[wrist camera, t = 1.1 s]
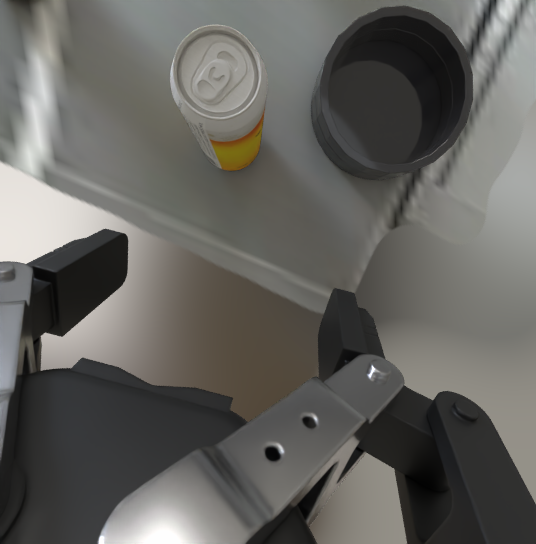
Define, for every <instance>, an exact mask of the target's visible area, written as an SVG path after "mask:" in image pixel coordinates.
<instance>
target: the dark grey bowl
mask: <svg viewBox="0 0 536 544" xmlns="http://www.w3.org/2000/svg"><path fill="white" fill-rule="evenodd" d="M472 101H473V74H472V69H471V66H470V63H469V60H468V57H467V54H466V50H465V49H464V46H463V45H462V43H461V42H460V41H459V39H458V38H457V36H456V35H455V33H454V32H453V31H452V29H451V28H450V27H449V26H448V25H446V24H445V23H443V22H442V21H441V20H439V19H438V18H436V17H435V16H434V15H432V14H431V13H429V12H425V11H422V10H418V9H415V8H412V7H408V6H397V7H383V8H379V9H377V10H375V11H372V12H370V13H368V14H366V15H363V16H361V17H359V18H357V19H356V20H355V21H354V22H353V23H352V24H351V25H350V26H348V27H347V28H346V29H345V30H344V31H343V32H342V33H341V34H340V35H339V36H338V37H337V39H336V41H335V43H334V44H333V46H332V48H331V50H330V51H329V53H328V55H327V57H326V59H325V61H324V63H323V65H322V68H321V70H320V72H319V75H318V77H317V79H316V84H315V87H314V91H313V95H312V103H311V117H312V124H313V128H314V132H315V135H316V138H317V140H318V142H319V144H320V146H321V148H322V149H323V151H324V152H325V154H326V155H327V156H328V158H329V159H330V160H331V161H332V162H333V163H334V164H335V165H337V166H338V167H339V168H341V169H342V170H344V171H345V172H347V173H349V174H351V175H354V176H356V177H359V178H363V179H369V180H385V179H391V178H396V177H399V176H402V175H404V174H407V173H410V172H412V171H415V170H417V169H419V168H422V167H424V166H426V165H428V164H431V163H433V162H435V161H436V160H437V159H438V158H439V157H440V156H442V155H443V154H444V153H445V152H446V151H447V150H448V149H449V148H451V147H452V146H453V144H454V143H455V141H456V140H457V138H458V136H459V135H460V133H461V131H462V130H463V128H464V127H465V125H466V123H467V120H468V116H469V112H470V109H471V105H472Z"/></svg>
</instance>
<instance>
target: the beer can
mask: <svg viewBox="0 0 536 544" xmlns="http://www.w3.org/2000/svg"><path fill="white" fill-rule="evenodd" d="M170 84H171V90H172V94H173V97H174V100H175V102H176V104H177V106H178V108H179V109H180V111H181V113H182V115H183V116H184V118H185V120H186V122H187V124H188V125H189V127H190V129H191V131H192V132H193V134H194V136H195V138H196V139H197V141H198V143H199V145H200V146H201V148H202V150H203V152H204V154H205V155H206V157H207V158H208V160H209V161H210V162H211V163H212V164H214V165H215V166H217V167H218V168H221V169H223V170H228V171H235V170H240V169H243V168H245V167H246V166H248V165H249V164H250V163H252V161H253V160H254V159H255V158H256V156H257V154H258V152H259V148H260V142H261V134H262V127H263V119H264V111H265V103H266V95H267V86H268V81H267V72H266V68H265V65H264V62H263V60H262V58H261V56H260V54H259V53H258V51H257V50H256V49H255V47H254V46H253V45H252V43H251V42H250V41H249V40H248V39H247V38H246V37H245V36H244V35H243V34H241V33H240V32H238V31H237V30H235V29H233V28H230V27H227V26H223V25H207V26H203V27H200V28H198V29H196V30H194V31H192V32H191V33H190V34H188V35H187V36H186V37H185V38H184V39H183V41H182V42H181V43H180V45H179V47H178V49H177V51H176V53H175V56H174V60H173V63H172V67H171V73H170Z"/></svg>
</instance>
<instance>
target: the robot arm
mask: <svg viewBox="0 0 536 544" xmlns="http://www.w3.org/2000/svg"><path fill="white" fill-rule="evenodd" d="M127 269H128V237H127V235H126V234H124V233H120V232H116V231H112V230H108V229H103V230H101V231H99V232H97V233H95V234H93V235H91V236H89V237H87V238H83V239H78V240H74V241H72V242H69V243H68V244H66V245H63V247H60V248H57V249H55V250H54V251H53V252H50V253H47V254H45V255H43V256H41V257H39V258H37V259H35V260H33V261H31V262H29V263H27V264H24V263H19V262H0V544H317V542H316V540H315V538H314V536H313V534H312V532H311V531H310V529H309V527H310V525H311V524H312V523H313V522H314V520H315V519H316V517H317V516H318V515H319V513H320V512H321V510H322V509H323V507H324V506H325V504H326V503H327V501H328V500H329V498H330V497H331V496H332V494H333V493H334V492H335V490H336V489H337V488H338V487H339V486H340V484H341V483H342V482H343V481H344V479H345V478H346V477H347V476H348V474H349V473H350V472H351V471H352V470H353V468H354V467H355V466H356V465H357V464H358V462H359V461H360V460H361V459H362V457H363V456H364V455H365V454H366V452H367V453H368V454H370V455H372V456H373V457H375V458H377V459H379V460H380V461H382V462H384V463H386V464H388V465H389V466H391V467H392V468H394V469H395V475H396V481H397V486H398V493H399V498H400V504H401V510H402V515H403V521H404V527H405V533H406V539H407V544H536V504H535V502H534V500H533V498H532V496H531V495H530V493H529V491H528V489H527V487H526V485H525V483H524V481H523V480H522V478H521V476H520V474H519V472H518V470H517V468H516V466H515V464H514V463H513V461H512V459H511V457H510V455H509V453H508V451H507V449H506V447H505V446H504V444H503V442H502V440H501V438H500V436H499V434H498V432H497V431H496V429H495V427H494V425H493V423H492V421H491V419H490V418H489V417H488V415H487V414H486V413H485V412H484V411H483V410H482V409H481V408H480V407H479V406H478V405H477V404H475V403H474V402H473V401H471V400H469V399H468V398H466V397H464V396H462V395H460V394H457V393H454V392H449V391H443V392H440V393H438V394H437V396H436V397H435V399H434V400H431V399H428V398H427V397H425V396H423V395H421V394H419V393H416V392H414V391H413V390H411V389H409V388H407V387H406V386H404V378H403V375H402V374H401V372H400V371H399V370H398V369H397V367H395V366H394V365H393V364H392V363H390V362H389V361H387V360H386V359H385V356H384V353H383V350H382V346H381V343H380V340H379V337H378V333H377V330H376V326H375V323H374V320H373V318H372V317H371V315H370V314H369V313H368V312H367V311H366V310H365V309H363V308H359V307H358V306H357V302H356V297H355V294H354V293H352V292H348V291H344V290H340V289H337V288H334V289H333V291H332V293H331V296H330V299H329V302H328V304H327V307H326V310H325V313H324V316H323V319H322V322H321V325H320V329H319V334H318V357H319V358H318V359H319V378H318V377H313V378H311V379H309V380H308V381H307V382H305V383H304V384H302V385H301V386H299V387H298V388H297V389H295V390H294V391H292V392H291V393H289V394H288V395H287V396H285V397H284V398H282V399H281V400H279V401H278V402H276V403H275V404H274V405H272V406H271V407H270V408H268V409H266V410H265V411H264V412H262V413H261V414H259V415H258V416H257V417H255V418H254V419H252V420H251V421H250V422H247V421H246V420H245V419H243V418H242V417H241V416H239V415H238V414H236V413H234V412H233V411H231V410H230V408H231V404H232V400H233V398H232V397H228V396H224V395H220V394H217V393H213V392H209V391H206V390H202V389H198V388H189V387H171V386H170V387H169V386H155V385H151V384H149V383H147V382H144V381H143V380H141V379H139V378H137V377H136V376H134V375H132V374H130V373H128V372H126V371H125V370H123V369H121V368H119V367H115V366H112V365H108V364H104V363H100V362H96V361H93V360H89V359H85V358H81V359H80V360H79V361H78V362H77V363H76V364H75V365H74V366H73V367H72V368H71V369H70V368H66V369H65V368H64V369H63V368H62V369H50V370H43V371H40V369H41V347H42V344H41V335H43V334H44V333H45V332H46V333H50V334H53V335H57V336H61V337H62V336H64V335H65V334H66V333H67V332H68V331H70V330H71V329H72V328H73V327H74V326H75V325H76V324H78V323H79V322H80V321H81V320H82V319H84V318H85V317H86V316H87V315H88V314H89V313H91V312H92V311H93V310H94V309H95V308H96V307H97V306H99V305H100V304H101V303H102V302H103V301H105V300H106V299H107V298H108V297H109V296H110V295H111V294H113V293H114V292H115V291H116V290H117V289H119V288H120V287H121V286H122V285H123V283H124V281H125V279H126V276H127Z"/></svg>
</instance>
